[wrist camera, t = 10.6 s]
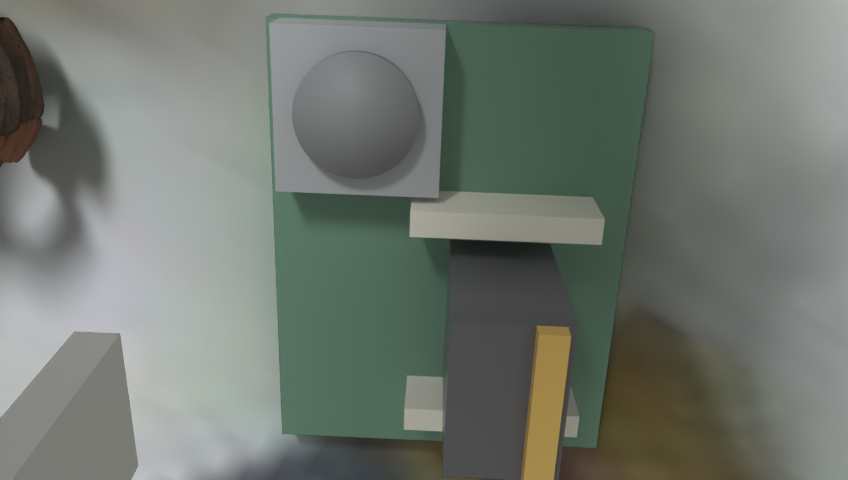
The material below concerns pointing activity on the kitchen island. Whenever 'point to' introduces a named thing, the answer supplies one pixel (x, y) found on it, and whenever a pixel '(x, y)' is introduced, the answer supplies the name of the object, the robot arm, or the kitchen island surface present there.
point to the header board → (439, 199)
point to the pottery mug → (17, 95)
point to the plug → (505, 362)
